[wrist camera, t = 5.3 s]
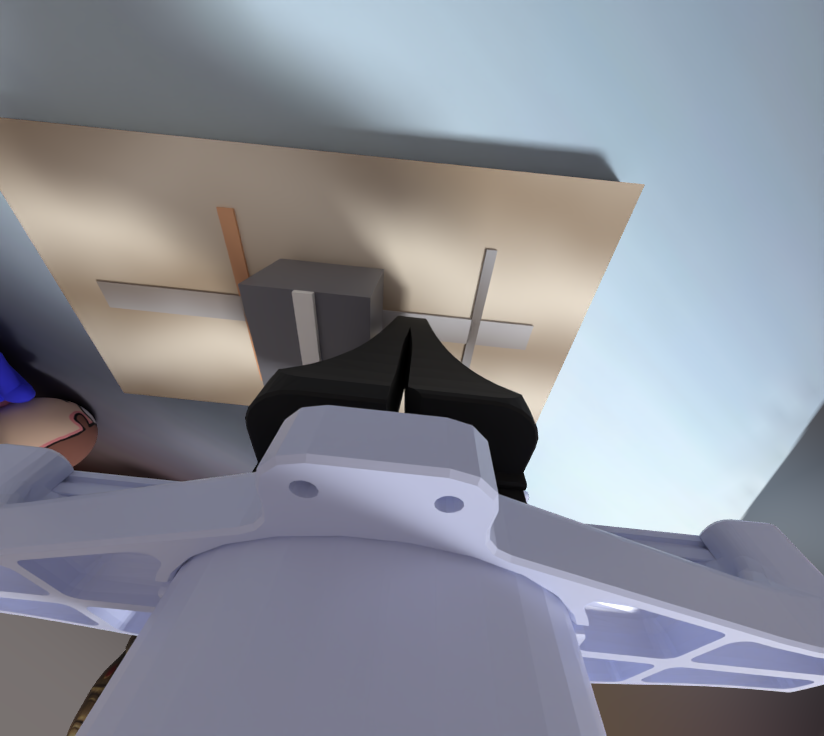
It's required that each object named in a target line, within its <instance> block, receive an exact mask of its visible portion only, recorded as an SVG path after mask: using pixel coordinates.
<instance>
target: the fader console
mask: <svg viewBox="0 0 824 736" xmlns="http://www.w3.org/2000/svg"><path fill="white" fill-rule="evenodd" d="M643 188H644V184H635V183H625V182H615V181H606V180H596V179H587V178H577V177H567V176H558V175H548V174H538V173H529V172H519V171H510V170H500V169H490V168H481V167H471V166H462V165H452V164H442V163H433V162H423V161H414V160H404V159H394V158H385V157H375V156H366V155H356V154H346V153H337V152H327V151H318V150H308V149H298V148H289V147H279V146H270V145H260V144H250V143H241V142H231V141H221V140H212V139H202V138H193V137H183V136H173V135H164V134H154V133H145V132H135V131H125V130H116V129H106V128H97V127H87V126H77V125H68V124H58V123H49V122H39V121H29V120H20V119H10V118H1V117H0V191H1V192H2V194H3V196H4V197H5V199H6V200H7V202H8V204H9V205H10V207H11V209H12V210H13V212H14V214H15V215H16V217H17V219H18V220H19V222H20V223H21V225H22V227H23V228H24V230H25V232H26V233H27V235H28V237H29V238H30V240H31V241H32V243H33V245H34V246H35V248H36V250H37V251H38V253H39V255H40V256H41V258H42V259H43V261H44V263H45V264H46V266H47V268H48V269H49V271H50V273H51V274H52V276H53V277H54V279H55V281H56V282H57V284H58V286H59V287H60V289H61V291H62V292H63V294H64V295H65V297H66V299H67V300H68V302H69V304H70V305H71V307H72V309H73V310H74V312H75V313H76V315H77V317H78V318H79V320H80V322H81V323H82V325H83V327H84V328H85V330H86V332H87V333H88V335H89V336H90V338H91V340H92V341H93V343H94V345H95V346H96V348H97V350H98V351H99V353H100V354H101V356H102V358H103V359H104V361H105V363H106V364H107V366H108V368H109V369H110V371H111V372H112V374H113V376H114V377H115V379H116V381H117V382H118V384H119V386H120V387H121V389H122V390H123V392H124V393H130V394H139V395H149V396H159V397H169V398H178V399H188V400H198V401H208V402H217V403H227V404H237V405H247V406H250V404H251V403H252V402H253V400H254V399H255V398H256V396H257V395H258V394H259V392H260V391H261V390H262V388H263V387H264V385H263V381H262V377H261V373H260V369H259V365H258V361H257V357H256V353H255V349H254V345H253V342H252V338H251V334H250V330H249V326H248V322H247V318H246V314H245V310H244V306H243V302H242V299H241V295H240V291H239V287H238V284H239V283H240V282H242V281H244V280H245V279H247V278H249V277H250V276H252V275H254V274H255V273H257V272H259V271H260V270H262V269H264V268H265V267H267V266H269V265H270V264H272V263H274V262H275V261H277V260H279V259H280V258H281V259H291V260H300V261H310V262H320V263H329V264H339V265H349V266H358V267H368V268H378V269H384V284H383V317H382V330H383V329H384V328H385V327H386V326H388V325H389V324H390V323H391V322H392V321H393V320H394V319H395V318H396V317H397V316H406V317H415V318H425V319H427V321H428V322H429V324H430V326H431V328H432V330H433V331H434V333H435V334H436V336H437V337H438V339H439V340H440V341H441V343H442V344H443V345H444V346H445V348H446V349H447V350H448V351H449V352H450V353H451V354H452V355H453V356H454V357H455V358H457V359H458V360H459V361H460V362H461V363H462V364H464V365H465V366H466V367H468V368H469V369H471V370H472V371H474V372H475V373H477V374H478V375H480V376H482V377H484V378H485V379H487V380H489V381H491V382H493V383H495V384H497V385H499V386H502V387H504V388H507V389H509V390H512V391H514V392H517V393H519V394H521V395H522V396H523V398H524V400H525V402H526V403H527V405H528V407H529V409H530V411H531V414H532V416H533V419H534V421H535V424H536V422H537V420H538V418H539V416H540V413H541V411H542V409H543V407H544V405H545V403H546V400H547V398H548V396H549V394H550V392H551V389H552V387H553V385H554V383H555V381H556V378H557V376H558V374H559V372H560V370H561V367H562V365H563V363H564V361H565V359H566V356H567V354H568V352H569V350H570V348H571V345H572V343H573V341H574V339H575V337H576V334H577V332H578V330H579V328H580V326H581V324H582V321H583V319H584V317H585V315H586V313H587V310H588V308H589V306H590V304H591V302H592V299H593V297H594V295H595V293H596V291H597V288H598V286H599V284H600V282H601V280H602V277H603V275H604V273H605V271H606V269H607V266H608V264H609V262H610V260H611V258H612V256H613V253H614V251H615V249H616V247H617V245H618V242H619V240H620V238H621V236H622V234H623V231H624V229H625V227H626V225H627V223H628V220H629V218H630V216H631V214H632V212H633V209H634V207H635V205H636V203H637V201H638V198H639V196H640V194H641V192H642V190H643ZM399 413H404V393H403V397H402V401H401V405H400V409H399Z"/></svg>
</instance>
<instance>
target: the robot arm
mask: <svg viewBox="0 0 824 736" xmlns="http://www.w3.org/2000/svg"><path fill="white" fill-rule="evenodd" d="M403 393H404V413H399V409H400V405H401V401H402V397H403ZM245 419H246V426H247V430H248V433H249V436H250V440H251V443H252V446H253V449H254V452H255V455H256V458H257V461H258V463H257V465H256V467H255V468H254V470H253V472H251V473H244V474H236V475H229V476H221V477H214V478H206V479H199V480H191V481H183V482H180V481H170V480H160V479H151V478H141V477H132V476H122V475H113V474H103V473H93V472H84V471H74V469H73V467H72V465H71V464H70V462H69V461H68V460H67V459H66V458H65V457H64V456H63V455H61V454H60V453H58V452H56V451H54V450H52V449H48V448H43V447H34V446H24V445H15V444H0V612H1V613H8V614H14V615H22V616H28V617H34V618H41V619H46V620H52V621H58V622H64V623H69V624H75V625H80V626H87V627H91V628H97V629H102V630H108V631H113V632H119V633H124V634H130V635H135V636H137V638H136V639H135V641H134V642H133V644H132V646H131V647H130V649H129V650H128V652H127V654H126V655H125V657H124V658H123V660H122V662H121V663H120V665H119V666H118V668H117V669H116V671H115V673H114V674H113V676H112V677H111V679H110V681H109V682H108V684H107V685H106V687H105V689H104V690H103V692H102V693H101V695H100V697H99V698H98V700H97V701H96V703H95V704H94V706H93V708H92V709H91V711H90V712H89V714H88V716H87V717H86V719H85V720H84V722H83V724H82V725H81V727H80V728H79V730H78V732H77V733H76V735H75V736H606V732H605V729H604V726H603V722H602V719H601V716H600V713H599V709H598V706H597V703H596V700H595V696H594V693H593V690H592V687H591V683H606V684H653V685H654V684H655V685H688V686H713V687H731V688H747V689H758V690H771V691H781V692H794V691H798V690H802V689H807V688H810V687H815V686H819V685H824V576H823V575H822V574H821V573H820V572H819V570H817V568H816V567H815V566H814V565H813V564H812V563H811V562H810V561H809V560H808V559H807V558H806V557H805V556H804V555H803V554H802V553H801V552H800V551H799V550H798V549H797V548H796V546H795V545H794V544H792V542H791V541H790V540H789V539H788V538H787V537H786V536H785V535H784V534H783V533H782V532H781V531H780V530H779V529H778V528H777V527H776V526H775V525H773V524H769V523H761V522H751V521H742V520H732V519H730V520H720V521H716V522H714V523H712V524H710V525H709V526H707V527H706V528H705V529H704V530H703V531H702V532H701V533H700V535H699V536H697V535H688V534H678V533H669V532H659V531H649V530H640V529H630V528H621V527H611V526H602V525H592V524H583V523H580V522H577V521H575V520H572V519H569V518H566V517H563V516H560V515H557V514H555V513H552V512H549V511H546V510H543V509H540V508H537V507H535V506H532V505H529V504H527V502H528V500H529V495H528V492H526V491H524V490H526V488H527V483H526V480H525V476H524V473H523V472H524V470H525V468H526V466H527V464H528V462H529V460H530V458H531V456H532V454H533V452H534V450H535V448H536V444H537V441H538V430H537V426H536V424H535V421H534V419H533V416H532V414H531V411H530V409H529V407H528V405H527V403H526V402H525V400H524V398H523V396H522V395H521V394H519V393H517V392H514V391H512V390H509V389H507V388H504V387H502V386H499V385H497V384H495V383H493V382H491V381H489V380H487V379H485V378H484V377H482V376H480V375H478V374H477V373H475V372H474V371H472V370H471V369H469V368H468V367H466V366H465V365H464V364H462V363H461V362H460V361H459V360H458V359H457V358H455V357H454V356H453V355H452V354H451V353H450V352H449V351H448V350H447V349H446V348H445V346H444V345H443V344H442V343H441V341H440V340H439V339H438V337H437V336H436V334H435V333H434V331H433V330H432V328H431V326H430V324H429V322H428V321H427V319H425V318H415V317H406V316H397V317H396V318H395V319H394V320H393V321H392V322H391V323H390V324H389V325H388V326H386V327H385V328H384V329H383V330H382V331H381V332H380V333H378V334H377V335H376V336H374V337H373V338H372V339H370V340H369V341H367V342H366V343H364V344H362V345H361V346H359V347H357V348H355V349H353V350H351V351H348V352H346V353H343V354H341V355H338V356H336V357H333V358H330V359H327V360H323V361H320V362H316V363H312V364H307V365H301V366H295V367H289V368H283V369H278V370H277V371H276V373H275V374H274V375H273V376H272V377H271V378H270V379H269V380H268V382H267V383H266V384H265V386H264V387H263V388H262V390H261V391H260V392H259V394H258V395H257V396H256V398H255V399H254V400H253V402H252V403H251V404H250V406H249V407H248V409H247V413H246V417H245Z"/></svg>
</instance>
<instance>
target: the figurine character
mask: <svg viewBox="0 0 824 736" xmlns="http://www.w3.org/2000/svg"><path fill="white" fill-rule="evenodd" d="M34 397H35V390H34V389H33V387H32V386H31V385H30V384H29V383H28V382H27V381H26V380H25V379H24V378H23V377H22V376H21V375H20V374H19V373H18V372H16V371H15V370H14V369H13V368H12V367H11V366H10V365H9V364H8V362H7V361H6V359H5V358H4V356H3V354H2V353H1V352H0V444H15V445H24V446H34V447H43V448H48V449H52V450H54V451H56V452H58V453H60V454H61V455H63V456H64V457H65V458H66V459H67V460H68V461H69V462H70V464H71V465H72V467H73V466H75V465H76V464H78V463H79V462H80V461H82V460H83V459H84V458H85V457H86V456H87V455H88V454H89V453H90V451H91V450H92V448H93V447H94V445H95V443H96V440H97V435H98V428H97V424H96V422H95V419H94V418H93V416H92V415H91V414H90V413H89V412H88V411H87V410H86V409H84V408H83V407H81V406H79V405H77V404H75V403H73V402H70V401H67V400H62V399H57V398H34Z"/></svg>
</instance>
